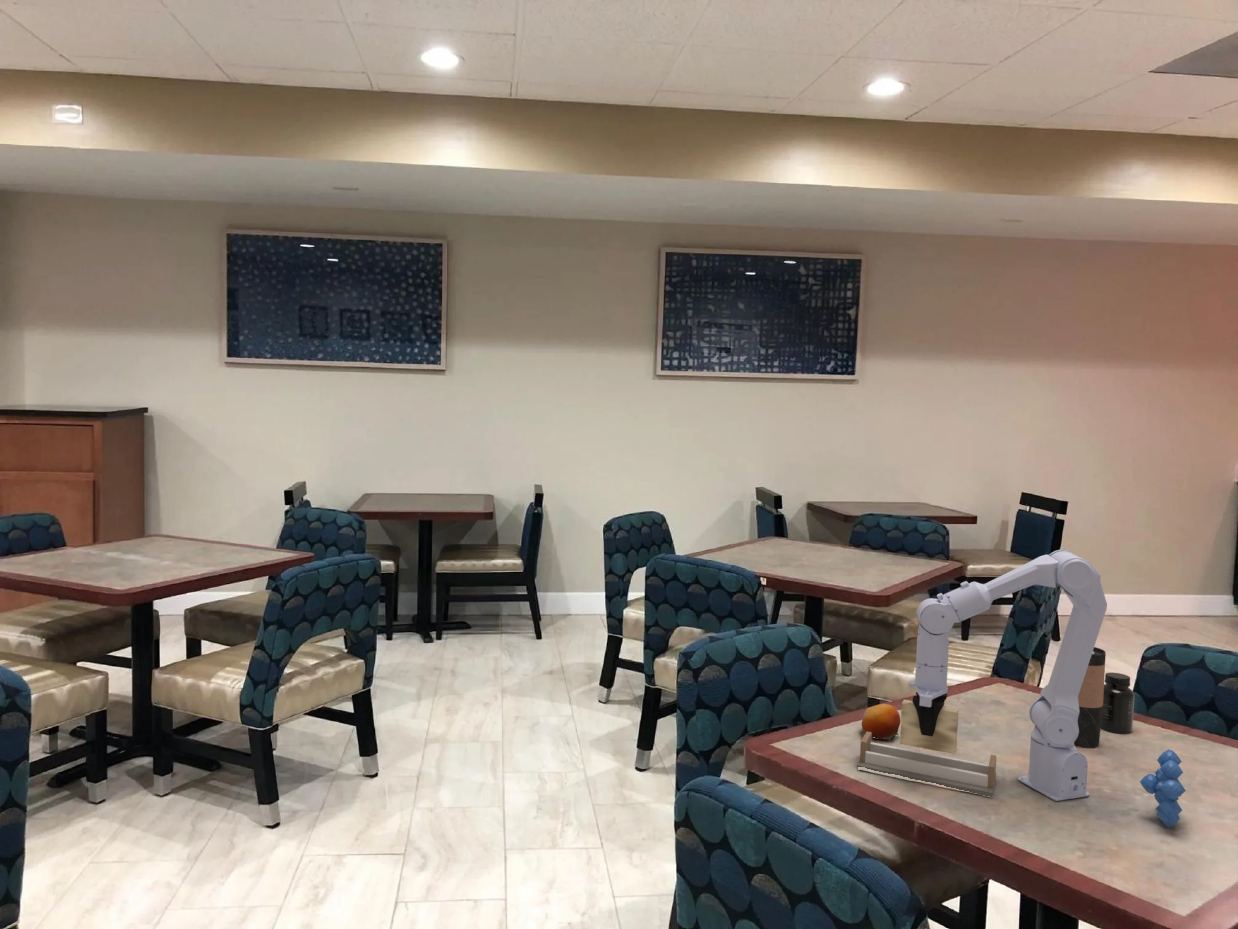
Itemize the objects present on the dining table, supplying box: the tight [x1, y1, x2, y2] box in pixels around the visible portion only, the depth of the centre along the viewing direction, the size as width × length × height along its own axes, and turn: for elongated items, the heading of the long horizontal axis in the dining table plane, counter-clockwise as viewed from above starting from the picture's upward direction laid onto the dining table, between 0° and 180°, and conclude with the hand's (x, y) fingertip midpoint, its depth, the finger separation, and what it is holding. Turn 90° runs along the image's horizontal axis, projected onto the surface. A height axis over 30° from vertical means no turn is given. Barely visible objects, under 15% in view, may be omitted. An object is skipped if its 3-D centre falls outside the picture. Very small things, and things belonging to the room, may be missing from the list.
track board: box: [857, 732, 997, 798], centre depth 167 cm, size 24×10×5 cm, turn 63°
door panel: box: [899, 699, 960, 755], centre depth 167 cm, size 10×2×8 cm, turn 63°
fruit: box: [861, 703, 901, 741], centre depth 186 cm, size 8×8×8 cm
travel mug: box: [1074, 646, 1107, 749], centre depth 185 cm, size 8×8×20 cm
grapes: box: [1139, 749, 1186, 828], centre depth 150 cm, size 12×7×12 cm, turn 152°
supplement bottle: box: [1100, 671, 1135, 735], centre depth 193 cm, size 7×7×12 cm
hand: (928, 732), depth 167 cm, fingers closed on door panel, 2 cm apart
